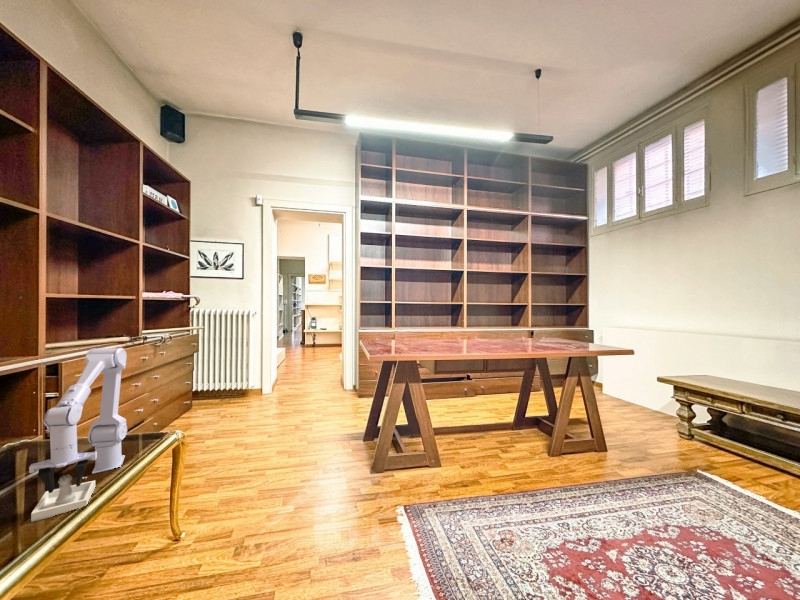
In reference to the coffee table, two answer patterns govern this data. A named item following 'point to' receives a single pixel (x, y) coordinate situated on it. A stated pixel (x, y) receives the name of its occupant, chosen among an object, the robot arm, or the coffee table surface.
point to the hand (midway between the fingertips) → (65, 487)
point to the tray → (50, 509)
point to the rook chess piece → (65, 491)
